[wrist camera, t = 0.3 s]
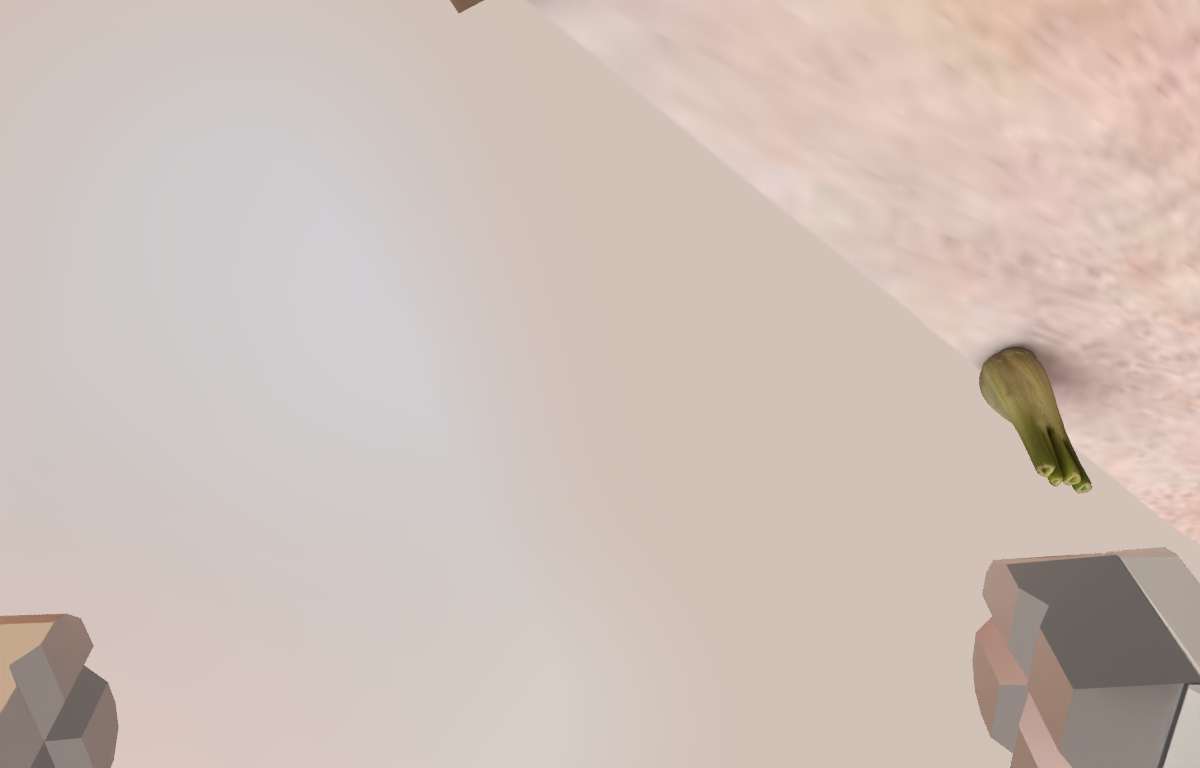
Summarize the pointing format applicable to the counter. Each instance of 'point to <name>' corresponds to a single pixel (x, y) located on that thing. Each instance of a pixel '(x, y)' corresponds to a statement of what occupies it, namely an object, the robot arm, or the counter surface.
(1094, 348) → the counter surface
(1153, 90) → the counter surface
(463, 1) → the trap box
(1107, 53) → the counter surface
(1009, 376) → the fennel bulb
